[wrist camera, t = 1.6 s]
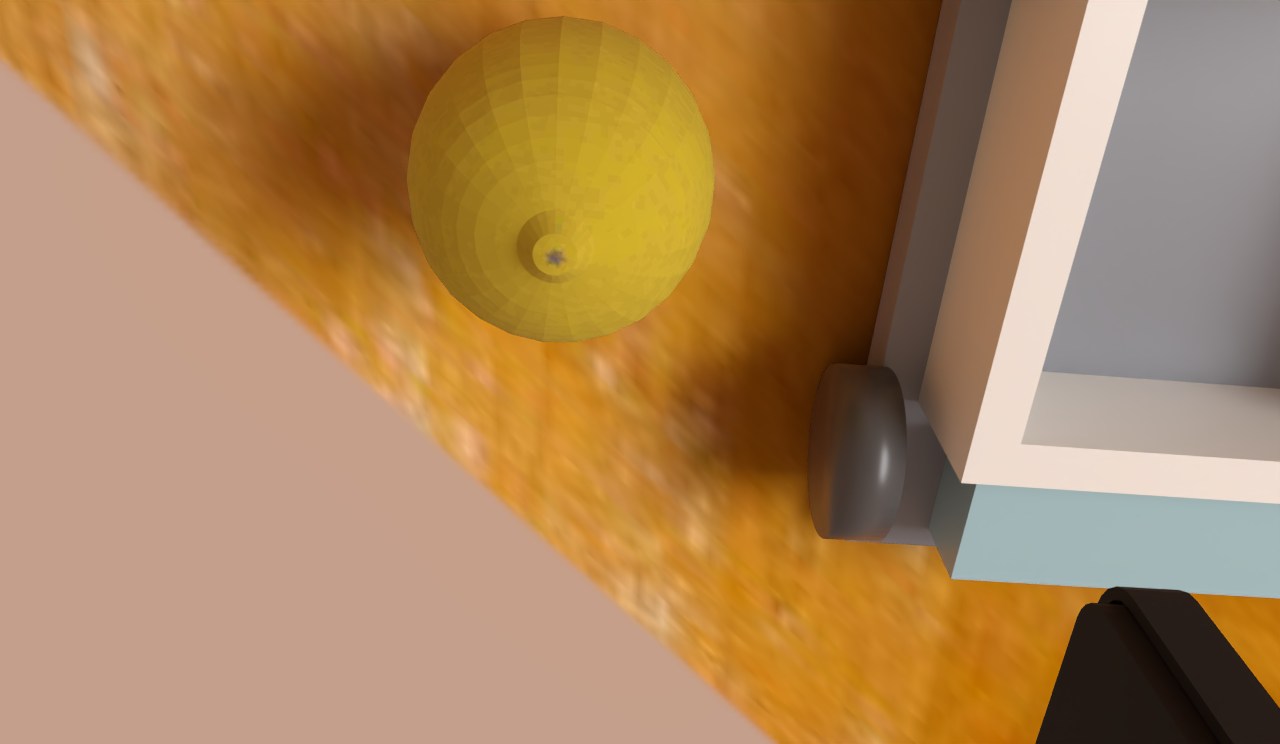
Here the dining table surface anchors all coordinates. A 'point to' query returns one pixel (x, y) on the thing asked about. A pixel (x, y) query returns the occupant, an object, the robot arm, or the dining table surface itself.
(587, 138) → the lemon
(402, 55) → the dining table surface
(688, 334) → the dining table surface
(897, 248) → the chassis
